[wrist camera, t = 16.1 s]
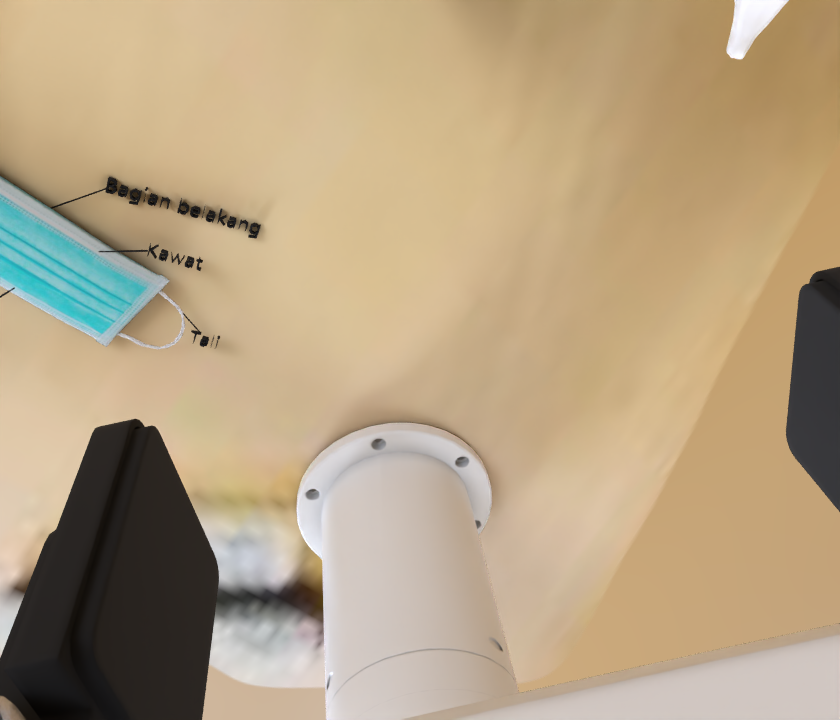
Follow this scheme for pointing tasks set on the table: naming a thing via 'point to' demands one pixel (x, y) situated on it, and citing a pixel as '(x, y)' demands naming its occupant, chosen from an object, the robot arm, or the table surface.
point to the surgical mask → (81, 266)
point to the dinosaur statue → (750, 23)
